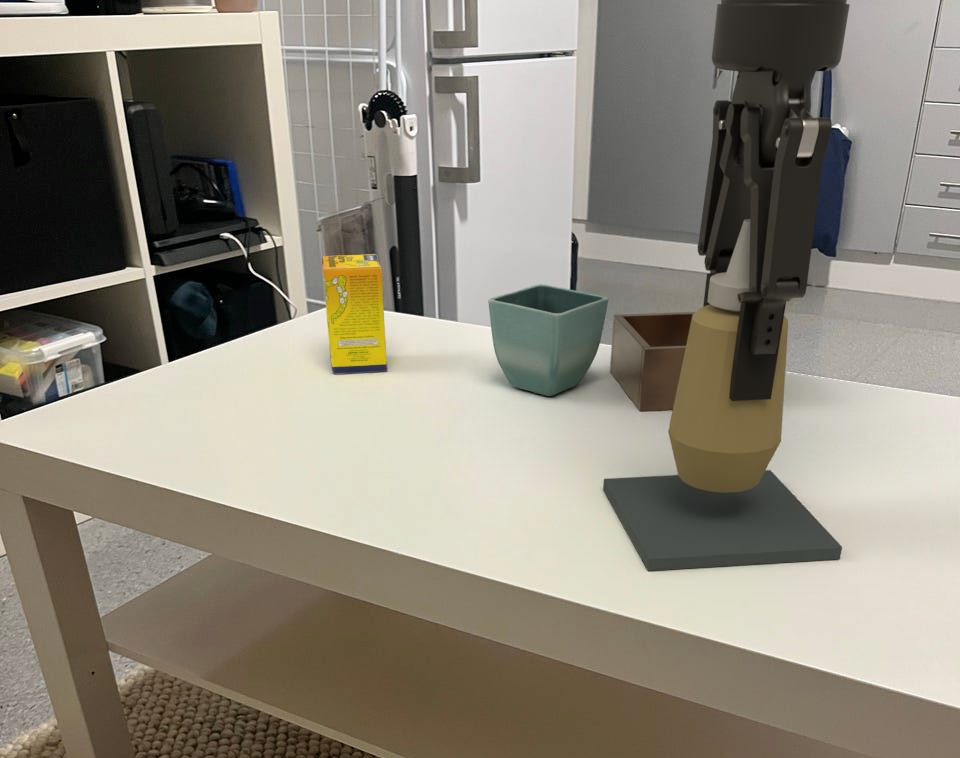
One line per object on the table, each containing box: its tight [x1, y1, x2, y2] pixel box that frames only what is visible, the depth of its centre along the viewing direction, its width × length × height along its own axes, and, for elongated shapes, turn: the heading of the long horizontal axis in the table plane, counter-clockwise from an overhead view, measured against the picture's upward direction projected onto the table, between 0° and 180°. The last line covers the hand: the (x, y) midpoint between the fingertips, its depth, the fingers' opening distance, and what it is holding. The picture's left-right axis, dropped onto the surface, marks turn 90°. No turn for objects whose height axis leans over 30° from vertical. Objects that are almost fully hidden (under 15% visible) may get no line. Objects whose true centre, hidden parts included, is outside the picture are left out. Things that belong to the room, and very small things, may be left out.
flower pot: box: [487, 283, 609, 397], centre depth 102 cm, size 9×9×9 cm
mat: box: [602, 469, 843, 572], centre depth 77 cm, size 14×14×1 cm
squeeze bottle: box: [667, 219, 789, 493], centre depth 70 cm, size 8×8×18 cm
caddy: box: [609, 311, 696, 412], centre depth 102 cm, size 13×13×6 cm
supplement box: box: [321, 253, 388, 375], centre depth 107 cm, size 6×6×11 cm
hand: (732, 381), depth 71 cm, fingers closed on squeeze bottle, 6 cm apart
